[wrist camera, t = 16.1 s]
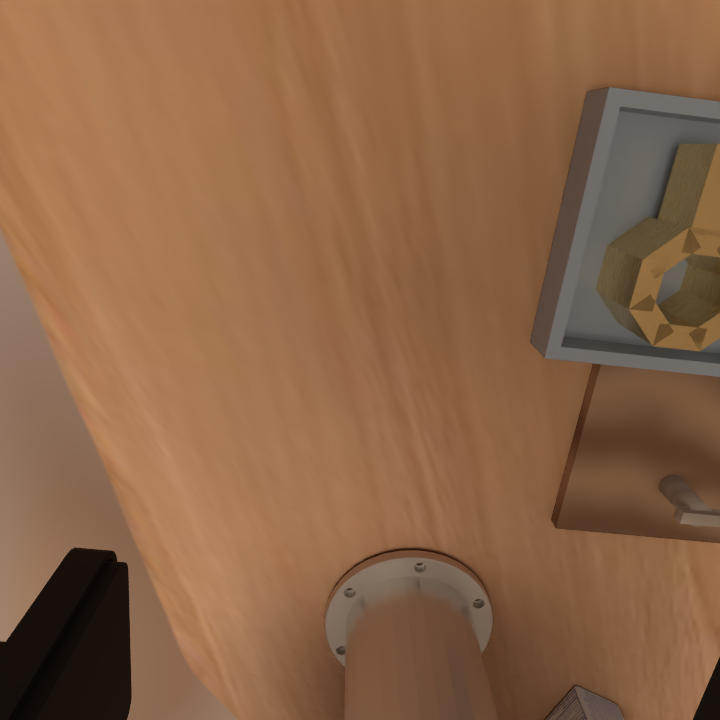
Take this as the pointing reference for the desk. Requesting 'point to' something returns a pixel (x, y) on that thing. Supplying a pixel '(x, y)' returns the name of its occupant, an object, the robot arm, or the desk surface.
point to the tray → (617, 225)
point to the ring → (672, 259)
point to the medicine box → (585, 707)
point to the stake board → (645, 456)
